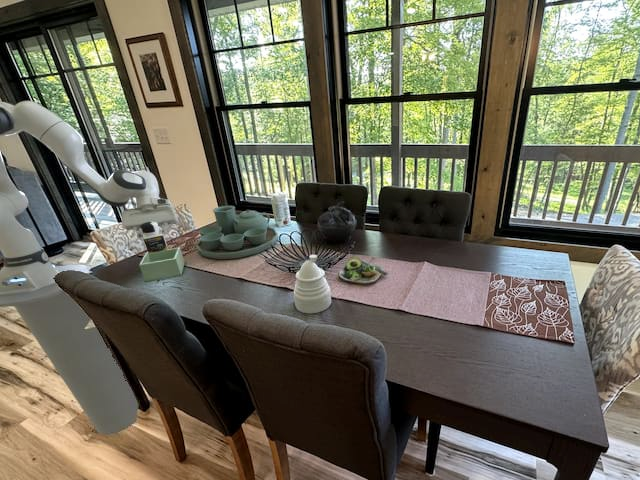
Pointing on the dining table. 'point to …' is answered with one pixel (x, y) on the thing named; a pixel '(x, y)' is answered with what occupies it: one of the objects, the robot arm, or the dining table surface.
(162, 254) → the bin
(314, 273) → the honey pot
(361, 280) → the salad plate
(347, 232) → the coal bowl
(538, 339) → the dining table surface
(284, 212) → the white ribbed cylinder
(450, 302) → the dining table surface
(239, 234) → the tea set
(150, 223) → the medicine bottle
